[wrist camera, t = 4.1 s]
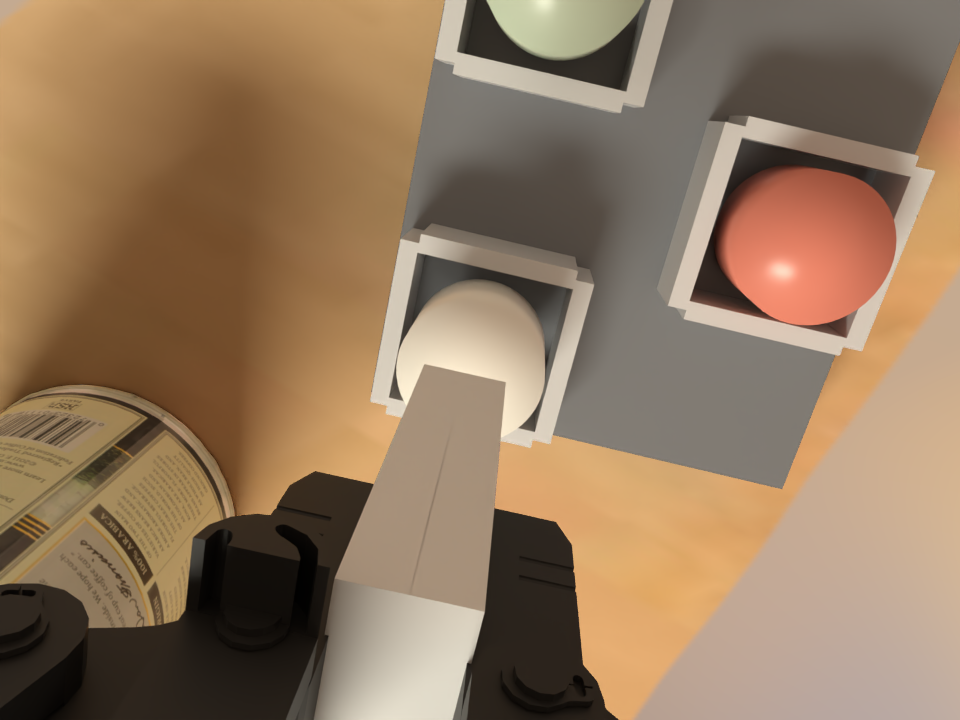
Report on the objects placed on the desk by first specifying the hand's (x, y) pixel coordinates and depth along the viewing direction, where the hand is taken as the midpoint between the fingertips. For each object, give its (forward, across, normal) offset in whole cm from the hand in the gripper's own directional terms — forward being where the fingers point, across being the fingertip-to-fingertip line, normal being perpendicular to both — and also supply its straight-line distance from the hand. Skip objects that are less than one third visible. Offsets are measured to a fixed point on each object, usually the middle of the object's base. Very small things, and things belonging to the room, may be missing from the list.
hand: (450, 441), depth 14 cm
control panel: (+12, +4, +4) cm, 13 cm away
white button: (+7, 0, 0) cm, 7 cm away
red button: (+8, +7, +4) cm, 12 cm away
